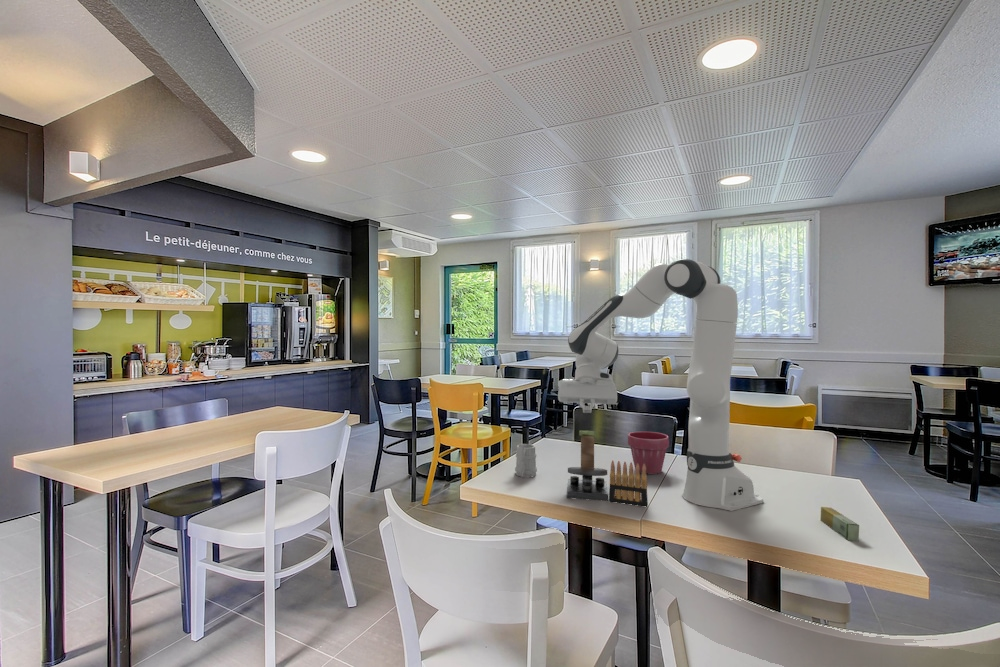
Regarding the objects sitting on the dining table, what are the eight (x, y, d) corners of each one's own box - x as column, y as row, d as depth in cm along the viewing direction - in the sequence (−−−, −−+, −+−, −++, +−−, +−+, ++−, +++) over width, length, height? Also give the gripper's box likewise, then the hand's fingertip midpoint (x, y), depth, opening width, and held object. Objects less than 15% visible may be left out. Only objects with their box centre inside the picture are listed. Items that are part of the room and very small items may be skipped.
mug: (539, 472, 161) (539, 438, 161) (531, 482, 150) (531, 445, 150) (518, 470, 163) (518, 436, 163) (509, 480, 152) (509, 444, 152)
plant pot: (622, 465, 170) (622, 430, 170) (658, 464, 171) (659, 430, 171) (635, 476, 156) (636, 439, 156) (675, 476, 157) (675, 439, 157)
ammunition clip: (608, 501, 133) (608, 460, 133) (609, 499, 134) (609, 459, 134) (647, 507, 128) (647, 464, 129) (647, 504, 130) (647, 463, 130)
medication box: (859, 542, 108) (860, 525, 108) (847, 541, 108) (847, 524, 108) (830, 521, 120) (831, 506, 120) (819, 520, 120) (819, 505, 120)
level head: (606, 472, 145) (606, 431, 147) (608, 476, 133) (608, 432, 135) (568, 469, 147) (568, 429, 149) (567, 474, 135) (567, 430, 138)
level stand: (606, 487, 145) (606, 470, 145) (608, 501, 133) (608, 482, 133) (568, 485, 147) (568, 468, 147) (566, 498, 135) (567, 480, 135)
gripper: (557, 373, 162) (555, 404, 153) (616, 375, 159) (618, 407, 149) (558, 384, 167) (556, 415, 157) (615, 386, 163) (617, 418, 154)
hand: (587, 411), depth 153 cm, fingers closed
